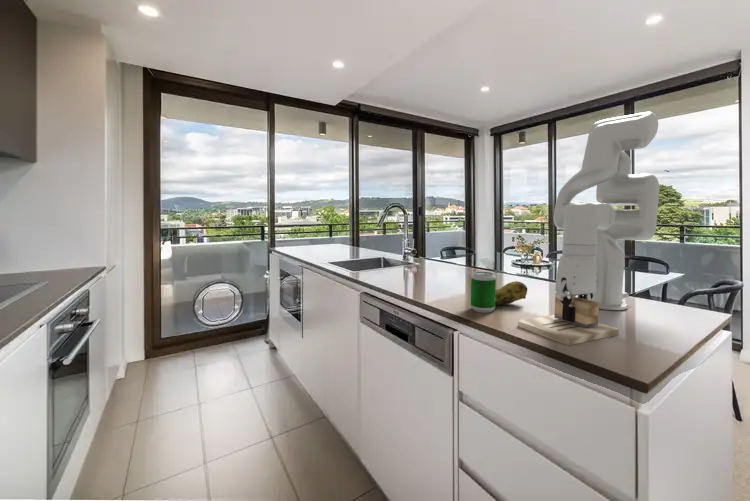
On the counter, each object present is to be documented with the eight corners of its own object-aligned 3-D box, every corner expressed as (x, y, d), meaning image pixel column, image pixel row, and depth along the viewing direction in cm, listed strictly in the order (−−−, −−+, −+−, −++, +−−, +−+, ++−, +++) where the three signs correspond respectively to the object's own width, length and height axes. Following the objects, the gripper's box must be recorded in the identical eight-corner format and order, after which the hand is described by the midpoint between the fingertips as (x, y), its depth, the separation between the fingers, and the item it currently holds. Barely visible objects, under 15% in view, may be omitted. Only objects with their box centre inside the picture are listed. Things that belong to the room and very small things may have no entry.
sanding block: (565, 315, 94) (566, 294, 93) (597, 325, 86) (599, 302, 85) (554, 317, 92) (555, 296, 92) (585, 327, 84) (587, 304, 83)
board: (564, 318, 98) (564, 313, 98) (618, 334, 84) (618, 328, 84) (517, 326, 91) (518, 320, 91) (568, 345, 78) (568, 339, 77)
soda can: (496, 314, 103) (498, 275, 102) (471, 312, 104) (472, 274, 103) (493, 307, 110) (494, 271, 109) (469, 306, 112) (470, 270, 110)
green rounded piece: (485, 300, 119) (486, 278, 118) (524, 302, 116) (525, 280, 115) (487, 306, 111) (488, 283, 110) (529, 309, 108) (530, 284, 107)
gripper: (587, 248, 94) (583, 312, 96) (542, 251, 87) (539, 319, 89) (615, 250, 87) (610, 319, 89) (569, 254, 80) (565, 328, 82)
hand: (575, 318), depth 89 cm, fingers closed on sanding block, 4 cm apart
